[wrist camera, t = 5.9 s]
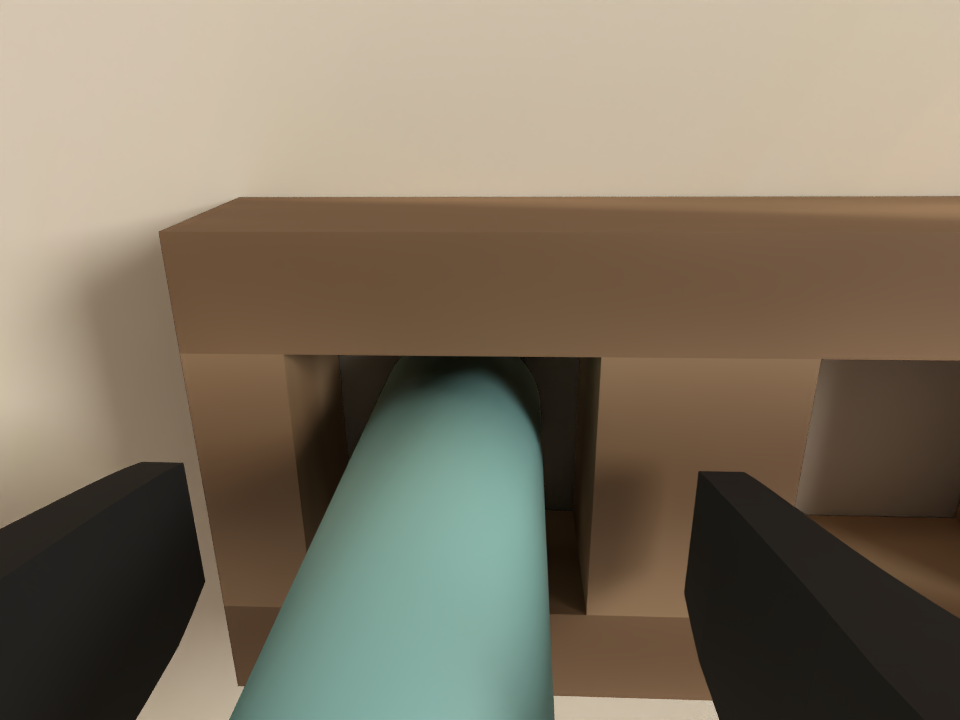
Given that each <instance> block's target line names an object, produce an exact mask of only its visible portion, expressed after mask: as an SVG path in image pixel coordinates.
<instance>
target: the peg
mask: <svg viewBox="0 0 960 720" xmlns="http://www.w3.org/2000/svg"><path fill="white" fill-rule="evenodd" d="M229 720H554V698H553V676H552V654H551V633H550V611H549V589H548V567H547V545H546V523H545V501H544V479H543V457H542V435H541V413H540V399H539V392H538V389H537V385H536V383H535V380H534V378H533V376H532V374H531V372H530V371H529V369H528V367H527V366H526V365H525V364H524V362H523V361H522V360H521V359H520V358H519V357H508V356H402V357H401V358H400V359H399V360H398V362H397V363H396V364H395V366H394V367H393V369H392V371H391V373H390V375H389V377H388V379H387V381H386V383H385V385H384V387H383V390H382V392H381V394H380V396H379V398H378V400H377V403H376V405H375V407H374V409H373V411H372V413H371V415H370V418H369V420H368V422H367V424H366V426H365V428H364V431H363V433H362V435H361V437H360V439H359V441H358V443H357V446H356V448H355V450H354V452H353V454H352V456H351V459H350V461H349V463H348V465H347V467H346V469H345V471H344V474H343V476H342V478H341V480H340V482H339V484H338V487H337V489H336V491H335V493H334V495H333V497H332V500H331V502H330V504H329V506H328V508H327V510H326V512H325V515H324V517H323V519H322V521H321V523H320V525H319V528H318V530H317V532H316V534H315V536H314V538H313V540H312V543H311V545H310V547H309V549H308V551H307V553H306V556H305V558H304V560H303V562H302V564H301V566H300V568H299V571H298V573H297V575H296V577H295V579H294V581H293V584H292V586H291V588H290V590H289V592H288V594H287V596H286V599H285V601H284V603H283V605H282V607H281V609H280V612H279V614H278V616H277V618H276V620H275V622H274V625H273V627H272V629H271V631H270V633H269V635H268V637H267V640H266V642H265V644H264V646H263V648H262V650H261V653H260V655H259V657H258V659H257V661H256V663H255V665H254V668H253V670H252V672H251V674H250V676H249V678H248V681H247V683H246V685H245V687H244V689H243V691H242V693H241V696H240V698H239V700H238V702H237V704H236V706H235V709H234V711H233V713H232V715H231V717H230V719H229Z"/></svg>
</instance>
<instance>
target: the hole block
mask: <svg viewBox="0 0 960 720" xmlns="http://www.w3.org/2000/svg"><path fill="white" fill-rule="evenodd" d="M159 237H160V243H161V248H162V254H163V260H164V265H165V271H166V277H167V283H168V288H169V294H170V300H171V305H172V311H173V317H174V323H175V328H176V334H177V340H178V345H179V351H180V357H181V363H182V368H183V374H184V380H185V385H186V391H187V397H188V403H189V408H190V414H191V420H192V425H193V431H194V437H195V443H196V448H197V454H198V460H199V465H200V471H201V477H202V483H203V488H204V494H205V500H206V505H207V511H208V517H209V523H210V528H211V534H212V540H213V545H214V551H215V557H216V563H217V568H218V574H219V580H220V585H221V591H222V597H223V603H224V608H225V614H226V620H227V625H228V631H229V637H230V643H231V648H232V654H233V660H234V665H235V671H236V677H237V683H238V686H245V685H246V683H247V681H248V678H249V676H250V674H251V672H252V670H253V668H254V665H255V663H256V661H257V659H258V657H259V655H260V653H261V650H262V648H263V646H264V644H265V642H266V640H267V637H268V635H269V633H270V631H271V629H272V627H273V625H274V622H275V620H276V618H277V616H278V614H279V612H280V609H281V607H282V605H283V603H284V601H285V599H286V596H287V594H288V592H289V590H290V588H291V586H292V584H293V581H294V579H295V577H296V575H297V573H298V571H299V568H300V566H301V564H302V562H303V560H304V558H305V556H306V553H307V551H308V549H309V547H310V545H311V543H312V540H313V538H314V536H315V534H316V532H317V530H318V528H319V525H320V523H321V521H322V519H323V517H324V515H325V512H326V510H327V508H328V506H329V504H330V502H331V500H332V497H333V495H334V493H335V491H336V489H337V487H338V484H339V482H340V480H341V478H342V476H343V474H344V471H345V469H346V467H347V465H348V457H347V446H346V435H345V423H344V412H343V400H342V389H341V377H340V366H339V355H396V356H508V357H580V362H579V384H578V405H577V427H576V448H575V470H574V491H573V511H548V510H545V523H546V545H547V567H548V589H549V611H550V633H551V654H552V676H553V696H584V697H616V698H649V699H682V700H712V697H711V694H710V692H709V689H708V686H707V683H706V680H705V677H704V675H703V672H702V669H701V666H700V663H699V659H698V655H697V651H696V646H695V642H694V638H693V633H692V629H691V624H690V619H689V615H688V610H687V605H686V600H685V595H684V589H685V580H686V572H687V564H688V555H689V547H690V539H691V530H692V522H693V514H694V505H695V497H696V488H697V480H698V472H699V471H725V472H745V473H747V474H748V475H750V476H752V477H753V478H755V479H756V480H758V481H759V482H761V483H762V484H764V485H765V486H767V487H768V488H769V489H771V490H772V491H773V492H775V493H776V494H778V495H779V496H780V497H782V498H783V499H784V500H786V501H787V502H789V503H790V504H791V505H793V506H794V507H795V502H796V496H797V491H798V485H799V480H800V474H801V469H802V463H803V458H804V452H805V447H806V441H807V436H808V430H809V424H810V419H811V413H812V408H813V402H814V397H815V391H816V386H817V380H818V375H819V369H820V364H821V359H845V360H957V361H960V196H916V197H239V198H237V199H234V200H232V201H230V202H227V203H225V204H223V205H220V206H218V207H216V208H213V209H211V210H209V211H206V212H204V213H202V214H199V215H197V216H195V217H192V218H190V219H188V220H185V221H183V222H181V223H178V224H176V225H174V226H171V227H169V228H166V229H164V230H162V231H159ZM806 516H808V517H809V518H810V519H812V520H813V521H814V522H816V523H817V524H819V525H820V526H821V527H823V528H824V529H825V530H827V531H828V532H830V533H831V534H832V535H834V536H835V537H837V538H838V539H839V540H841V541H842V542H844V543H845V544H846V545H848V546H849V547H851V548H852V549H853V550H855V551H856V552H858V553H859V554H861V555H862V556H864V557H865V558H866V559H868V560H869V561H871V562H872V563H874V564H875V565H877V566H878V567H880V568H881V569H883V570H884V571H886V572H887V573H889V574H890V575H892V576H893V577H895V578H896V579H898V580H899V581H901V582H902V583H904V584H906V585H907V586H909V587H910V588H912V589H913V590H915V591H917V592H918V593H920V594H921V595H923V596H924V597H926V598H928V599H929V600H931V601H932V602H934V603H935V604H937V605H939V606H940V607H942V608H943V609H945V610H947V611H948V612H950V613H951V614H953V615H955V616H957V617H958V618H960V502H959V505H958V509H957V513H956V516H955V518H921V517H868V516H815V515H806Z"/></svg>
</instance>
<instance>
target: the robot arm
mask: <svg viewBox="0 0 960 720" xmlns="http://www.w3.org/2000/svg"><path fill="white" fill-rule="evenodd" d="M204 583H205V578H204V572H203V567H202V561H201V556H200V551H199V545H198V540H197V534H196V529H195V523H194V518H193V513H192V507H191V502H190V496H189V491H188V485H187V480H186V475H185V469H184V464H183V463H166V462H140V463H138V464H135V465H132V466H130V467H127V468H124V469H122V470H120V471H117V472H115V473H113V474H111V475H108V476H106V477H104V478H102V479H100V480H98V481H96V482H94V483H92V484H89V485H87V486H85V487H83V488H81V489H79V490H77V491H75V492H73V493H71V494H69V495H67V496H65V497H63V498H61V499H59V500H57V501H55V502H53V503H51V504H49V505H47V506H45V507H43V508H41V509H39V510H37V511H35V512H33V513H31V514H29V515H27V516H25V517H23V518H21V519H19V520H17V521H15V522H13V523H11V524H9V525H7V526H5V527H3V528H1V529H0V720H136V719H137V717H138V715H139V713H140V712H141V710H142V708H143V707H144V705H145V703H146V702H147V700H148V698H149V697H150V695H151V693H152V691H153V690H154V688H155V686H156V684H157V683H158V681H159V679H160V678H161V676H162V674H163V672H164V671H165V669H166V667H167V665H168V664H169V662H170V660H171V658H172V657H173V655H174V653H175V651H176V649H177V648H178V646H179V643H180V641H181V639H182V637H183V634H184V632H185V630H186V628H187V625H188V623H189V621H190V618H191V616H192V614H193V611H194V609H195V606H196V603H197V601H198V598H199V596H200V593H201V591H202V588H203V586H204ZM684 595H685V600H686V605H687V610H688V615H689V619H690V624H691V629H692V633H693V638H694V642H695V646H696V651H697V655H698V659H699V663H700V666H701V669H702V672H703V675H704V677H705V680H706V683H707V686H708V689H709V692H710V694H711V697H712V700H713V703H714V706H715V709H716V711H717V714H718V717H719V720H960V618H958V617H957V616H955V615H953V614H951V613H950V612H948V611H947V610H945V609H943V608H942V607H940V606H939V605H937V604H935V603H934V602H932V601H931V600H929V599H928V598H926V597H924V596H923V595H921V594H920V593H918V592H917V591H915V590H913V589H912V588H910V587H909V586H907V585H906V584H904V583H902V582H901V581H899V580H898V579H896V578H895V577H893V576H892V575H890V574H889V573H887V572H886V571H884V570H883V569H881V568H880V567H878V566H877V565H875V564H874V563H872V562H871V561H869V560H868V559H866V558H865V557H864V556H862V555H861V554H859V553H858V552H856V551H855V550H853V549H852V548H851V547H849V546H848V545H846V544H845V543H844V542H842V541H841V540H839V539H838V538H837V537H835V536H834V535H832V534H831V533H830V532H828V531H827V530H825V529H824V528H823V527H821V526H820V525H819V524H817V523H816V522H814V521H813V520H812V519H810V518H809V517H808V516H806V515H805V514H804V513H802V512H801V511H799V510H798V509H797V508H795V507H794V506H793V505H791V504H790V503H789V502H787V501H786V500H784V499H783V498H782V497H780V496H779V495H778V494H776V493H775V492H773V491H772V490H771V489H769V488H768V487H767V486H765V485H764V484H762V483H761V482H759V481H758V480H756V479H755V478H753V477H752V476H750V475H748V474H747V473H745V472H725V471H699V472H698V480H697V488H696V497H695V505H694V514H693V522H692V530H691V539H690V547H689V555H688V564H687V572H686V580H685V589H684Z"/></svg>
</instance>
